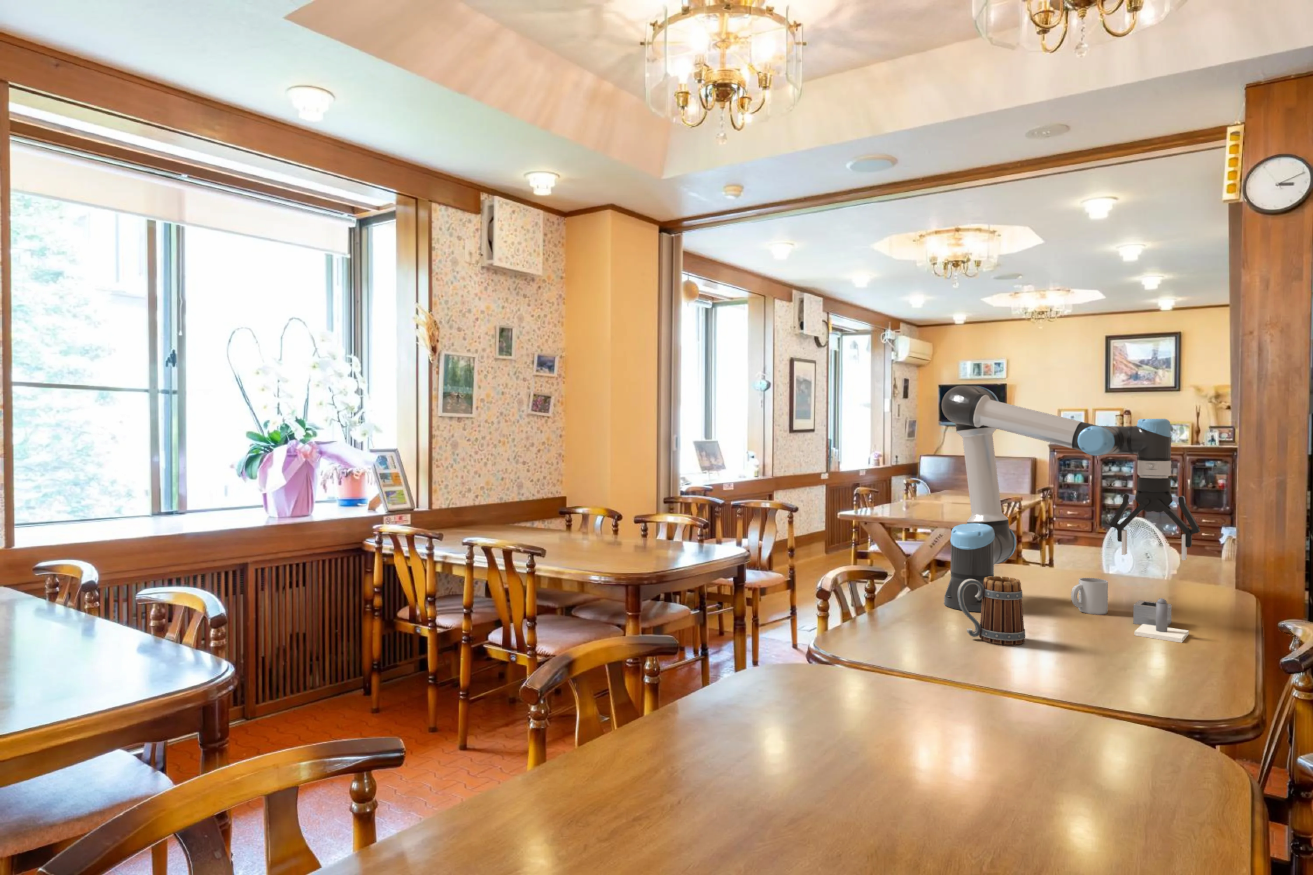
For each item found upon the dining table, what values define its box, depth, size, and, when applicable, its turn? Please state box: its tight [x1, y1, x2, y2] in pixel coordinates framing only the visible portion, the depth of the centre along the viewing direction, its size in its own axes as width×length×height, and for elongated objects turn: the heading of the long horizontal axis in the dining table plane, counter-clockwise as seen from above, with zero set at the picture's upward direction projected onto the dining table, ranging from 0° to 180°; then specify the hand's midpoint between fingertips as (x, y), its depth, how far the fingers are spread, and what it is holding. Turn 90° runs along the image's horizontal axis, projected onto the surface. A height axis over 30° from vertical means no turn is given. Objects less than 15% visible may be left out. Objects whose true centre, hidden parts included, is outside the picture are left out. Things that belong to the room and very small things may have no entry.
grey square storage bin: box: [1132, 599, 1172, 628], centre depth 210 cm, size 7×7×5 cm
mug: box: [958, 575, 1026, 647], centre depth 194 cm, size 16×11×15 cm
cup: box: [1070, 577, 1109, 616], centre depth 223 cm, size 7×10×9 cm
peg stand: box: [1134, 597, 1190, 643], centre depth 198 cm, size 10×10×9 cm
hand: (1153, 556), depth 210 cm, fingers open, 13 cm apart
